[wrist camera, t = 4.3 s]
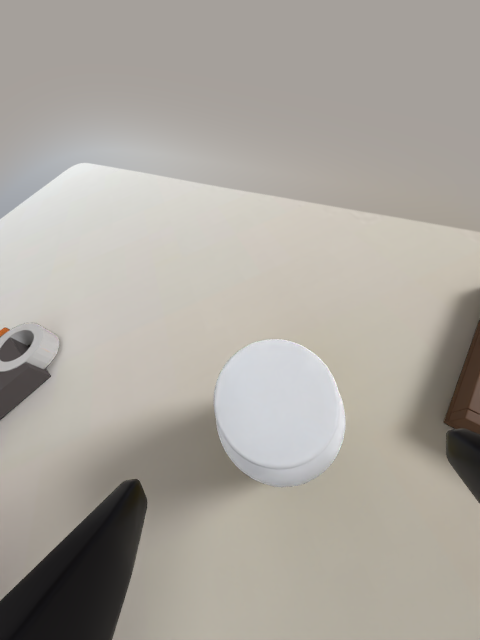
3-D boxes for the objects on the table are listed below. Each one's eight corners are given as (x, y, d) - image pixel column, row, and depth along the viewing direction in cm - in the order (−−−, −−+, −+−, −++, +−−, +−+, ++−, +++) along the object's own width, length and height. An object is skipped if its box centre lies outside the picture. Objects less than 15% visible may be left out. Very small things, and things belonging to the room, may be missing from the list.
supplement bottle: (230, 401, 17) (178, 349, 9) (300, 374, 17) (314, 298, 9) (256, 488, 14) (216, 534, 6) (339, 455, 14) (414, 456, 6)
